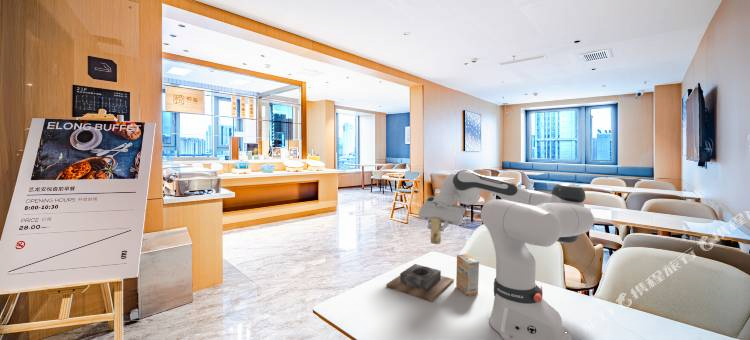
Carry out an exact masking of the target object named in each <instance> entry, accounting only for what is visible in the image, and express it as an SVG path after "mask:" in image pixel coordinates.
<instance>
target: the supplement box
mask: <svg viewBox="0 0 750 340" xmlns="http://www.w3.org/2000/svg"><path fill="white" fill-rule="evenodd" d="M479 266H480V261H479V260H477V259H475V258H474V257H472V256H470V255H469V254H467V253H465V254H464V253H463V254H457V255H456V279H455V280H456V284H455V285H456V287H457V288H458V289H459V290H460V291H462V292H464V294H465V295H466V296H473V295H474V296H475V295H478V294H479V273H480V271H479V270H480V269H479V268H480V267H479Z"/></svg>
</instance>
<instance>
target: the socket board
mask: <svg viewBox="0 0 750 340" xmlns="http://www.w3.org/2000/svg"><path fill="white" fill-rule="evenodd" d="M441 273H442V272H441V270H439V269H436V268H432V267H428V266H425V265H420V264H417V263H414V264H412V265H411V266H410V267H408V268H406V269H405V270H404V271H402V272H400V274H399V275H398V276H396V277H395V278H394V279H392V280H390V281H389V282H387V283H386V285H385V286H386V288H389V289H392V290H395V291H397V292H400V293H404V294H406V295H410V296H412V297H416V298H417V299H418V298H419V299H422V300H425V301H428V302H431V303H433V302H434V301H435V300H436V299H438V298H439V296H440V295H441V294H442V293H444V292H445V291H446V290H447V289H448V288H449V287H450V286H451V285H452V284H453V283H454V278H451V277H448V276H443V275H442V274H441Z"/></svg>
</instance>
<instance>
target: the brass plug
mask: <svg viewBox="0 0 750 340" xmlns="http://www.w3.org/2000/svg"><path fill="white" fill-rule="evenodd" d="M430 223H431V229H430V244H433V245H440V244H442V231H440V230H439V228H440V226H442V223H441V218H439V217H431V222H430Z"/></svg>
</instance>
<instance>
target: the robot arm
mask: <svg viewBox="0 0 750 340" xmlns="http://www.w3.org/2000/svg"><path fill="white" fill-rule="evenodd" d="M439 189H440V190H439V193H438V194H437V195H434V196H428V197H426V198H425V202H424V203H423V204H422V205H421V207H420V209H419V210H418V213H417V214H418V217H419V219H420V220H424V221H427V227H426V228H427V230H431V217H439V218H441V224H442V225H441V226H440V228H439V230H440V231H441V232H444V231H445V229H446V228H447V227H449V225H453V226H458V227H459V226H462V224H463V222H464V221H463V220H464V215H465V213H466V210H467V209H466V207H465V206H463V205H467V206H472V205H475V204H477V202H479V200H480V198H481V194H480V191H484V192H487V193H491V194H495V195H497V196H498V197H500V199H499V198H498V199H490V200H488V201H486V202H485V203H484V204H483V206H482V208H481V211H480V219H481V222H482V224H483V225H484V226H485V228H486V230H487V231H488V233H489V235H490V238H491V241H492V244H493V248H494V253H495V278H494V279H493V280H494V281H493V296H494V298H493V300H494V301H493V305H492V311H491V312H490V313H491V314H490V316H489V319H488V321H489V325H490V327H492V328H493V329H494V330H495V331H496V332H497V333H498V334H499V335H500V337H501V339H503V340H572V339H573V337H572V334H571V332H570V330H569V328H567V327H566V326H564V324H563V320H562V317H561V314H560V313H559V312H558V310H556V309H555V308H554V307H553V306H551V305H550V304H549V303H548V302H547V301H546V300H545V299H543V286H538V285H537V284H536V270H537V269H536V268H537V267H536V266H537V264H536V259H535V257H534V255H533V253H532V252H531V251H529V249H528V248H527V246H526V244H527V245H530V246H531V245H532V246H537V247H545V248H546V247H547V248H548V247H551V246H553V245H554V244H555V243H556V242H558V243H560V244H572V243H574V242H577V239H578V238H579V236H580V235H582V234H583V235H584V234H586V233H588V232H589V231H591V230H592V228H593V226H594V223H595V217H594V215H593V213H592V212H591V211H590V209H589V208H587V207H585V200H586V193H585V192H586V190H585V189H584V188H583V187H581V186H580V185H578V184H575V183H570V182H563V183H558V184H556V185H554V186H553V187H552V189H551V193H548V192H547V193H546V192H544V191H538V190H533V189H527V188H523V187H521V186H518V185H516V184H513V183H512V182H510V181H506V180H503V179H498V178H495V177H491V176H486V175H482V174H479V173H477V172H475V171H473V170H469V169H462V170H460V171H458V172H457V173H450V174H448V175H447V176H446V177H445V178H444V180H443V181H442V184H441V186H440V188H439ZM456 203H460V204H462V205H457V204H456ZM565 332H567V333H565Z"/></svg>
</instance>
